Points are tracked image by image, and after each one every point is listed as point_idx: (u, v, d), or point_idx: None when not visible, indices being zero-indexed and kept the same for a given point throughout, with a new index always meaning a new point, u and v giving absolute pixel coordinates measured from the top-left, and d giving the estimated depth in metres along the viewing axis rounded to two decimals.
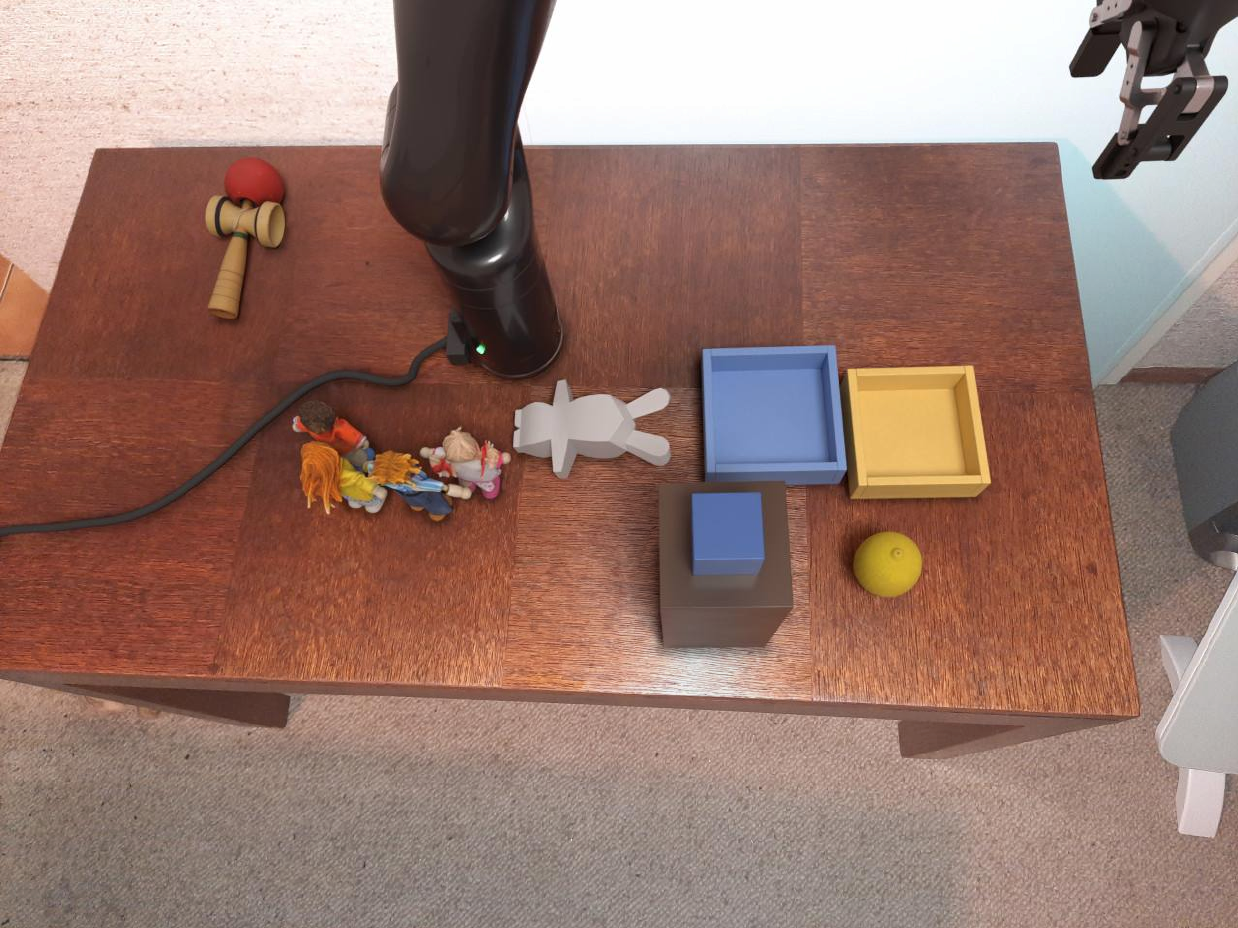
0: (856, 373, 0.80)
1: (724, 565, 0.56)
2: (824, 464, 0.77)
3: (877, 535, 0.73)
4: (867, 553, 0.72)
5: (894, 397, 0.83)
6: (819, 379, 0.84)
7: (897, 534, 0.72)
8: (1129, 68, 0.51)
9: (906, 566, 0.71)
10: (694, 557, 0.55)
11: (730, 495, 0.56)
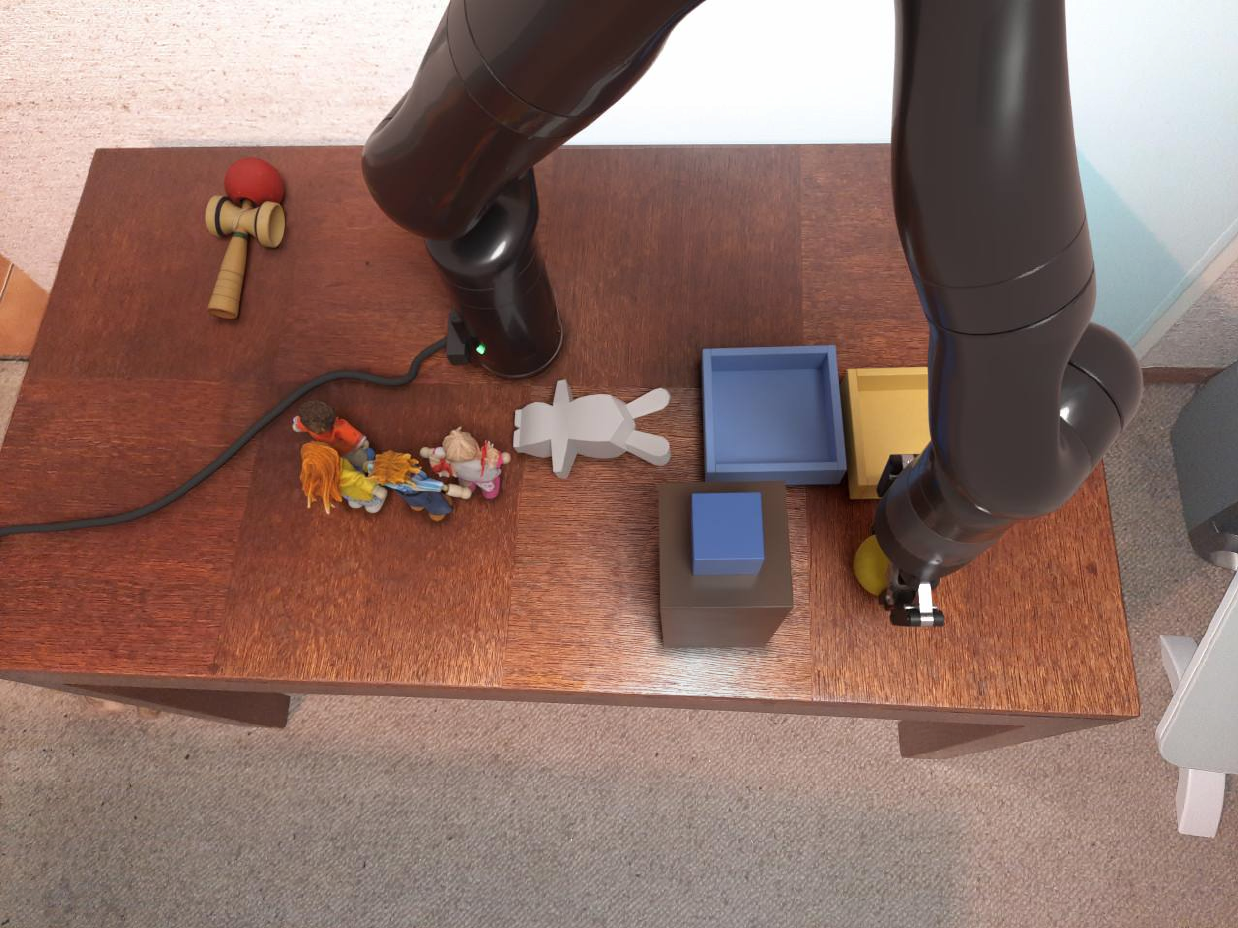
0: (856, 373, 0.80)
1: (724, 565, 0.56)
2: (824, 464, 0.77)
3: None
4: (867, 552, 0.72)
5: (894, 397, 0.83)
6: (819, 379, 0.84)
7: None
8: (890, 572, 0.66)
9: None
10: (694, 557, 0.55)
11: (730, 495, 0.56)
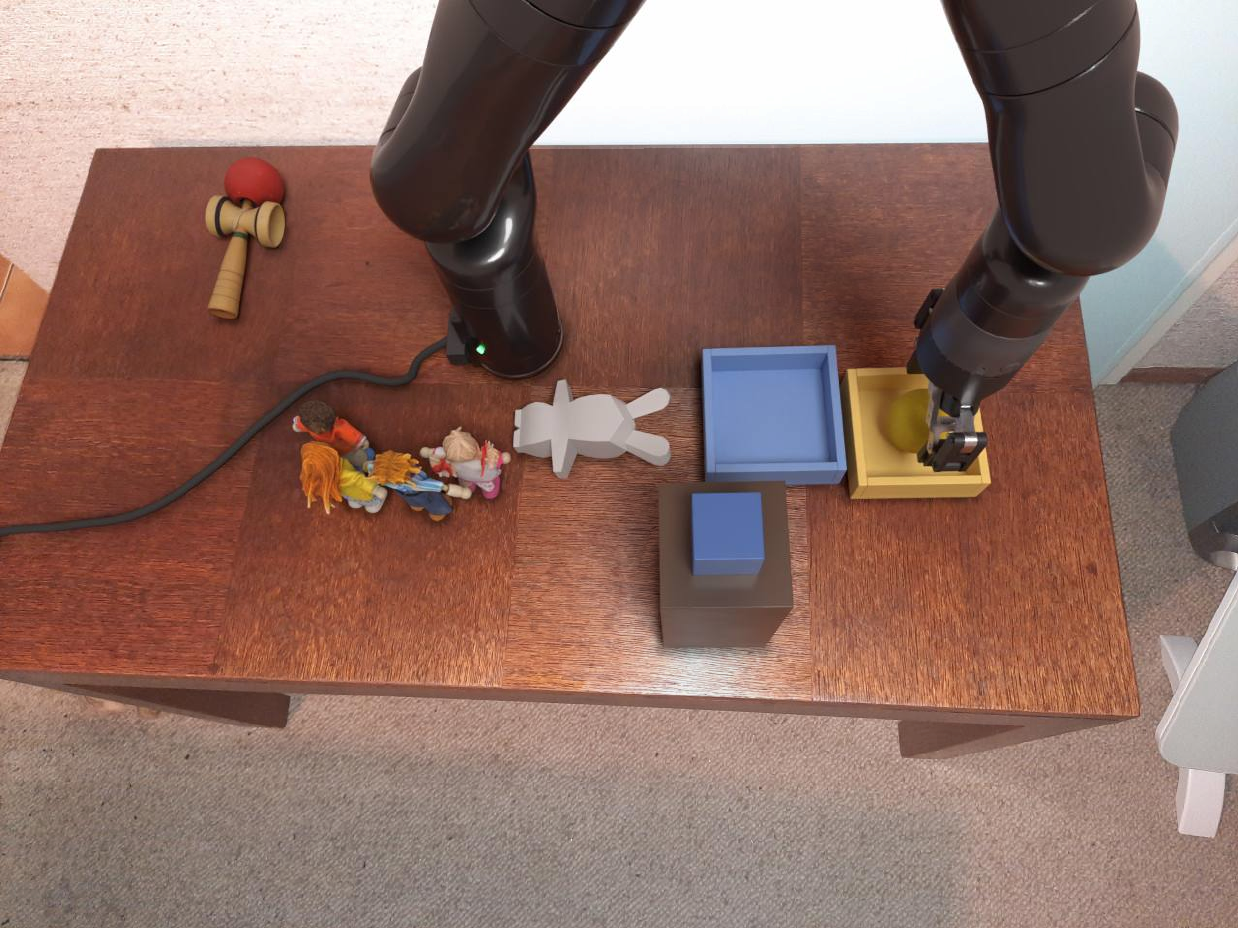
0: (856, 373, 0.80)
1: (724, 565, 0.56)
2: (824, 464, 0.77)
3: (909, 391, 0.77)
4: (900, 406, 0.76)
5: (894, 397, 0.83)
6: (819, 379, 0.84)
7: None
8: (929, 405, 0.69)
9: None
10: (694, 557, 0.55)
11: (730, 495, 0.56)
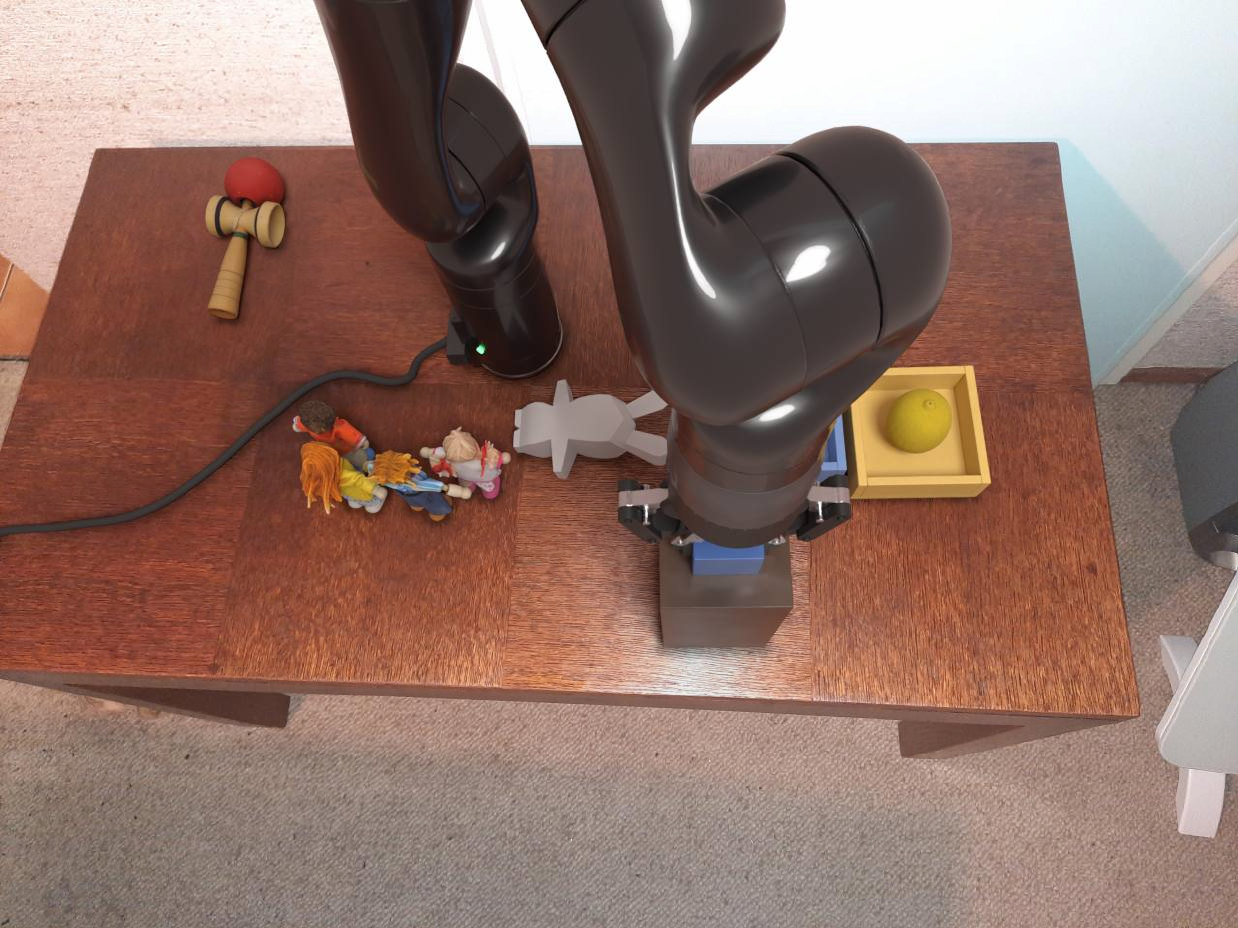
0: None
1: (724, 565, 0.56)
2: (824, 464, 0.77)
3: (909, 391, 0.77)
4: (900, 406, 0.76)
5: (894, 397, 0.83)
6: None
7: (928, 389, 0.76)
8: None
9: (938, 417, 0.74)
10: (694, 557, 0.55)
11: None
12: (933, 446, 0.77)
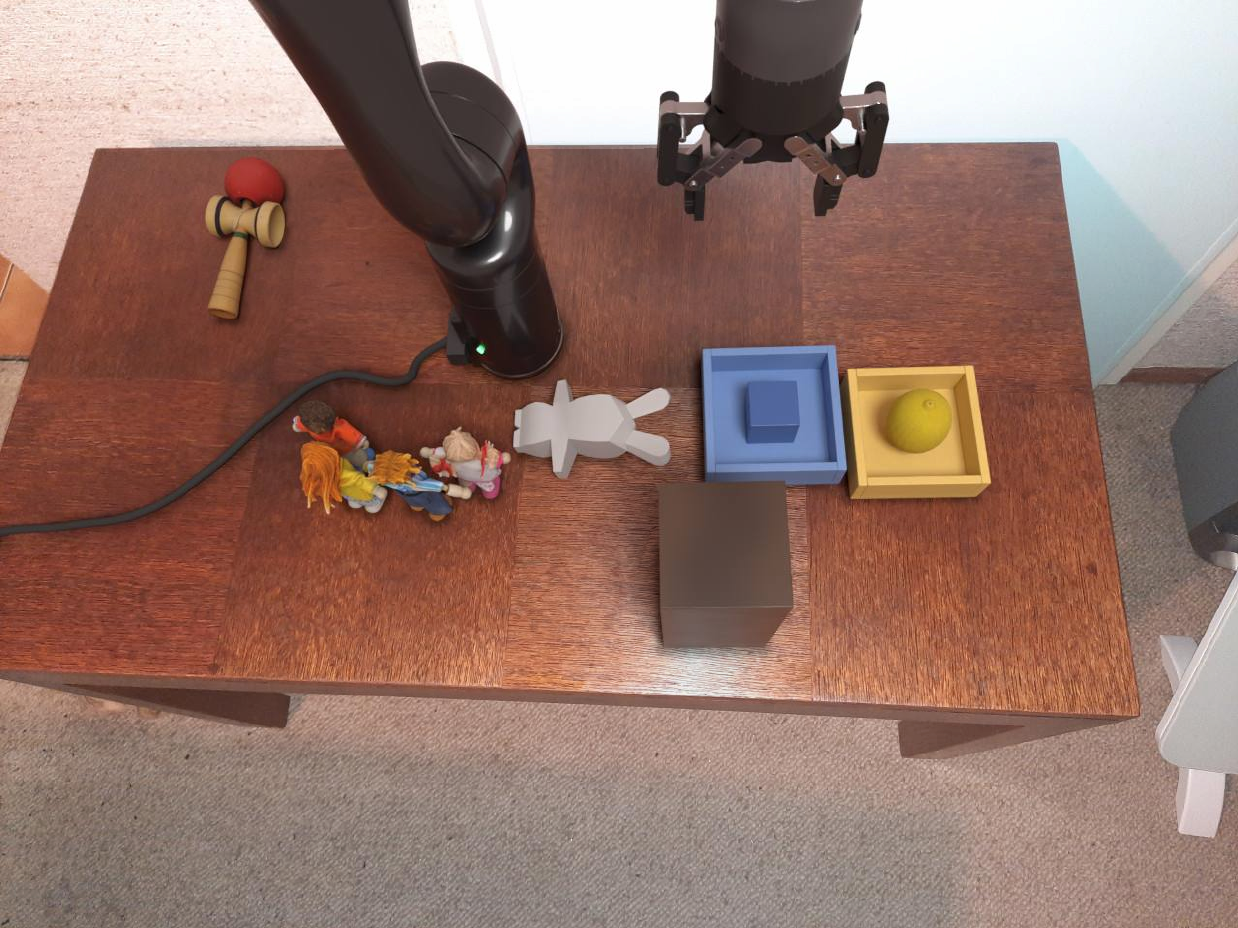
0: (856, 373, 0.80)
1: (771, 432, 0.79)
2: (824, 464, 0.77)
3: (909, 391, 0.77)
4: (900, 406, 0.76)
5: (894, 397, 0.83)
6: (819, 379, 0.84)
7: (928, 389, 0.76)
8: None
9: (938, 417, 0.74)
10: (750, 424, 0.78)
11: (774, 382, 0.79)
12: (933, 446, 0.77)
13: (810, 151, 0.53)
